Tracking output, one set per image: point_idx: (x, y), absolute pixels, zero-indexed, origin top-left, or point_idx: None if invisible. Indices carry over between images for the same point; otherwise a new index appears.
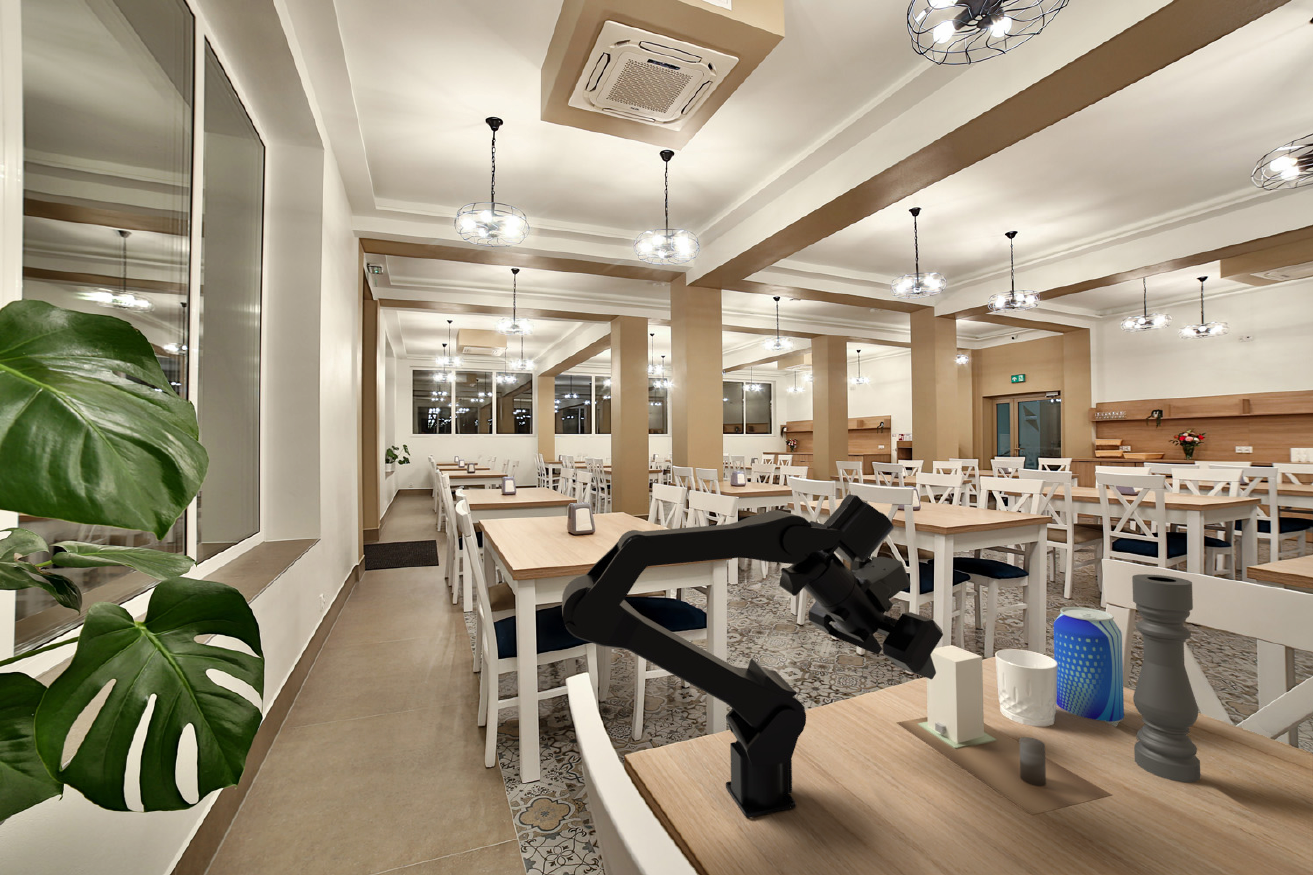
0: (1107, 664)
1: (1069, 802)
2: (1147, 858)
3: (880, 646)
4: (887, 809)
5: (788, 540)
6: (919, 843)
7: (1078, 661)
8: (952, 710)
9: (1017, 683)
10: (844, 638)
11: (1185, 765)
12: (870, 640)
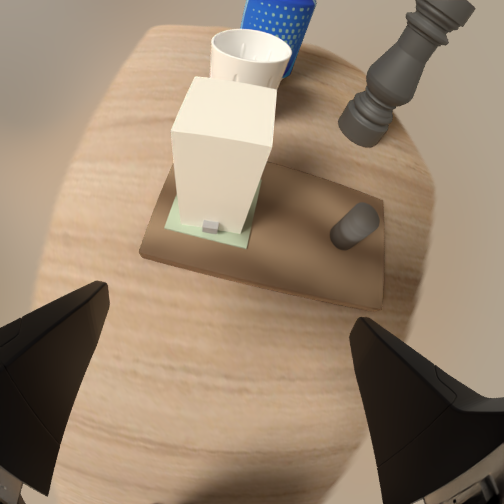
0: (305, 29)
1: (380, 249)
2: (421, 261)
3: (102, 289)
4: (275, 437)
5: None
6: (333, 444)
7: (285, 30)
8: (239, 209)
9: (257, 83)
10: (51, 461)
11: (387, 127)
12: (76, 334)
